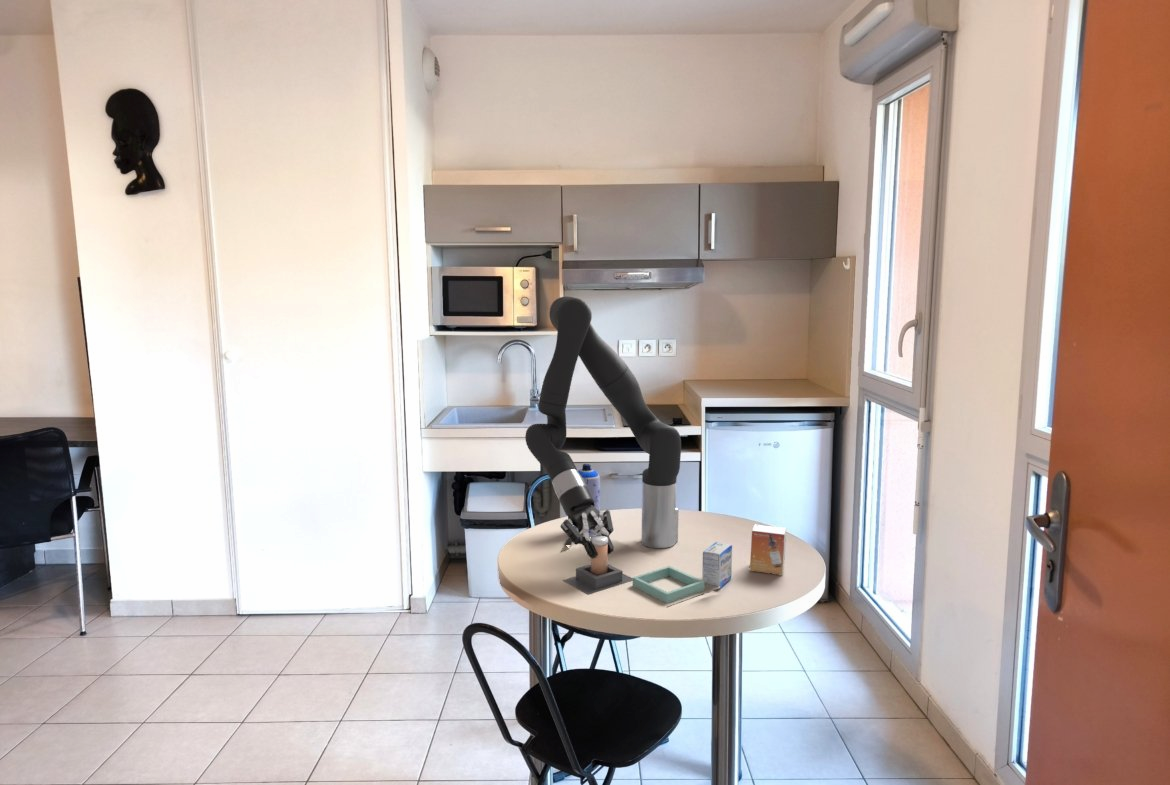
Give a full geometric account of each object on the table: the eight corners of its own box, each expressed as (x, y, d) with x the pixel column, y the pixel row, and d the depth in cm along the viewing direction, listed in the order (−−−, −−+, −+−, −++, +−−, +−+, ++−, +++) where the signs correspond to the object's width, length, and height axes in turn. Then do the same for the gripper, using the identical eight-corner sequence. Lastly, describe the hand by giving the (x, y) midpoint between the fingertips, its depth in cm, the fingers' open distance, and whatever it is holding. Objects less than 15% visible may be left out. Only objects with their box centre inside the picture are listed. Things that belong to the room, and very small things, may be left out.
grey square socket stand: (608, 570, 179) (608, 556, 178) (635, 583, 171) (635, 569, 170) (562, 584, 170) (562, 570, 170) (588, 598, 162) (588, 584, 162)
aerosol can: (570, 529, 208) (569, 462, 205) (596, 527, 210) (596, 460, 207) (576, 538, 201) (576, 468, 198) (603, 536, 203) (603, 467, 200)
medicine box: (719, 590, 167) (720, 554, 166) (701, 586, 169) (702, 551, 168) (731, 579, 174) (732, 544, 172) (714, 575, 176) (715, 540, 175)
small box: (749, 571, 178) (750, 530, 177) (752, 563, 183) (753, 523, 182) (782, 576, 176) (784, 534, 174) (784, 567, 181) (786, 527, 179)
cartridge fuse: (600, 574, 173) (600, 534, 172) (611, 579, 170) (611, 539, 168) (586, 578, 171) (586, 537, 169) (597, 584, 168) (597, 543, 166)
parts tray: (668, 577, 174) (669, 565, 174) (704, 594, 165) (704, 581, 165) (632, 589, 167) (632, 577, 167) (666, 607, 158) (667, 594, 158)
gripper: (554, 489, 169) (585, 554, 162) (602, 479, 178) (633, 540, 170) (542, 505, 174) (571, 569, 167) (589, 495, 183) (619, 555, 175)
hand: (602, 554), depth 168 cm, fingers closed on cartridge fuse, 4 cm apart
